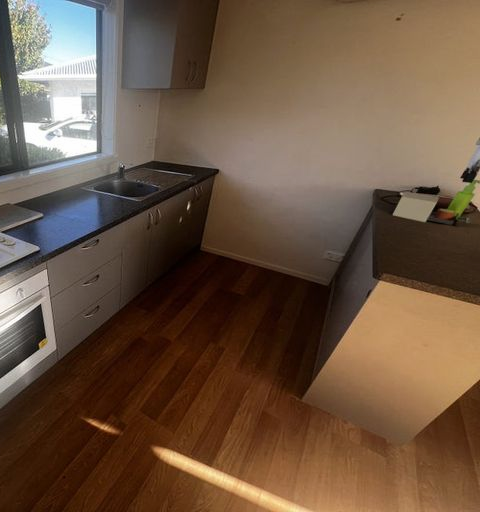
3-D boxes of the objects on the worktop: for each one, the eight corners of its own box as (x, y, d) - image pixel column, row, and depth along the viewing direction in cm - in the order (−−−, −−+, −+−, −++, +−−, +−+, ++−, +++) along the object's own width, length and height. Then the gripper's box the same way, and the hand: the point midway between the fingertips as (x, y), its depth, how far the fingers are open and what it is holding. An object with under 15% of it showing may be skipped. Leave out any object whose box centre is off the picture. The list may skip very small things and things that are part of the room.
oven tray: (467, 221, 149) (471, 215, 147) (467, 228, 141) (471, 222, 139) (422, 213, 160) (425, 207, 158) (419, 219, 152) (423, 213, 150)
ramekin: (441, 216, 153) (446, 208, 151) (455, 221, 148) (460, 212, 146) (430, 216, 153) (434, 208, 151) (443, 221, 148) (448, 213, 145)
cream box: (427, 216, 159) (439, 196, 153) (425, 222, 151) (436, 202, 145) (396, 210, 167) (405, 191, 162) (391, 216, 159) (401, 196, 154)
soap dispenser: (450, 218, 156) (475, 181, 146) (440, 213, 161) (463, 178, 152) (463, 219, 154) (489, 182, 145) (453, 215, 160) (477, 179, 150)
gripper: (505, 146, 124) (479, 185, 133) (498, 142, 135) (475, 178, 143) (479, 144, 129) (455, 182, 137) (474, 140, 140) (453, 176, 148)
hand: (465, 180), depth 140 cm, fingers open, 9 cm apart
